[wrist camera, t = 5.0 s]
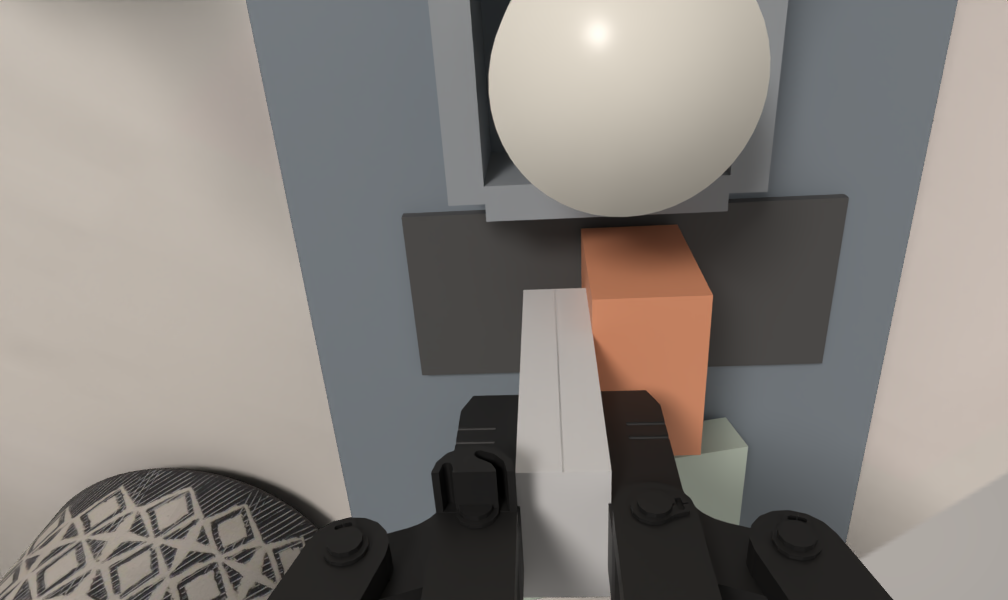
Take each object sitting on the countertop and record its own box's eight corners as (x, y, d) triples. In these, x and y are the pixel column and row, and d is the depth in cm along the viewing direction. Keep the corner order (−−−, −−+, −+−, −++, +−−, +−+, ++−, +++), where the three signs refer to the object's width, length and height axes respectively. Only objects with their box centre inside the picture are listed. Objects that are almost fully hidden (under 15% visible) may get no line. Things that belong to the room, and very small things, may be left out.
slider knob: (582, 363, 20) (593, 457, 16) (580, 228, 18) (592, 300, 14) (670, 361, 20) (700, 454, 16) (677, 224, 18) (712, 294, 14)
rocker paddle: (468, 573, 22) (474, 610, 21) (455, 460, 20) (461, 493, 19) (715, 529, 23) (734, 562, 22) (725, 417, 21) (748, 446, 20)
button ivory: (505, 163, 15) (497, 222, 12) (491, -61, 13) (478, -62, 10) (709, 153, 15) (756, 211, 12) (725, -77, 13) (786, -83, 10)
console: (384, 492, 28) (343, 644, 22) (213, -495, 16) (8, -774, 10) (800, 484, 27) (877, 640, 21) (970, -578, 15) (1280, -946, 9)
